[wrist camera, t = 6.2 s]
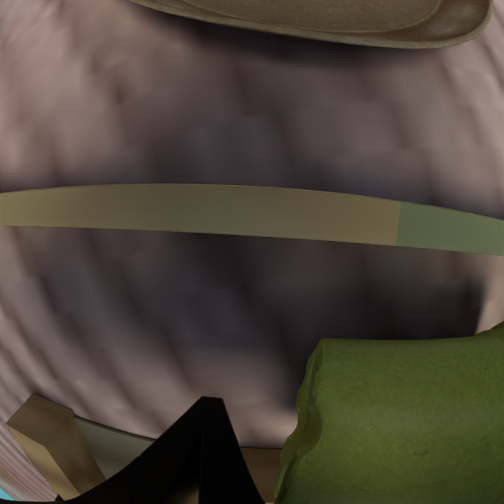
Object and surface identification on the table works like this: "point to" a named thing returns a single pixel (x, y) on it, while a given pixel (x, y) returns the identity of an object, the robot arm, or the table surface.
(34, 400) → the compartment box
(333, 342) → the plant pot
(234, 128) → the table surface
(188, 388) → the table surface
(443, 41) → the plant saucer
